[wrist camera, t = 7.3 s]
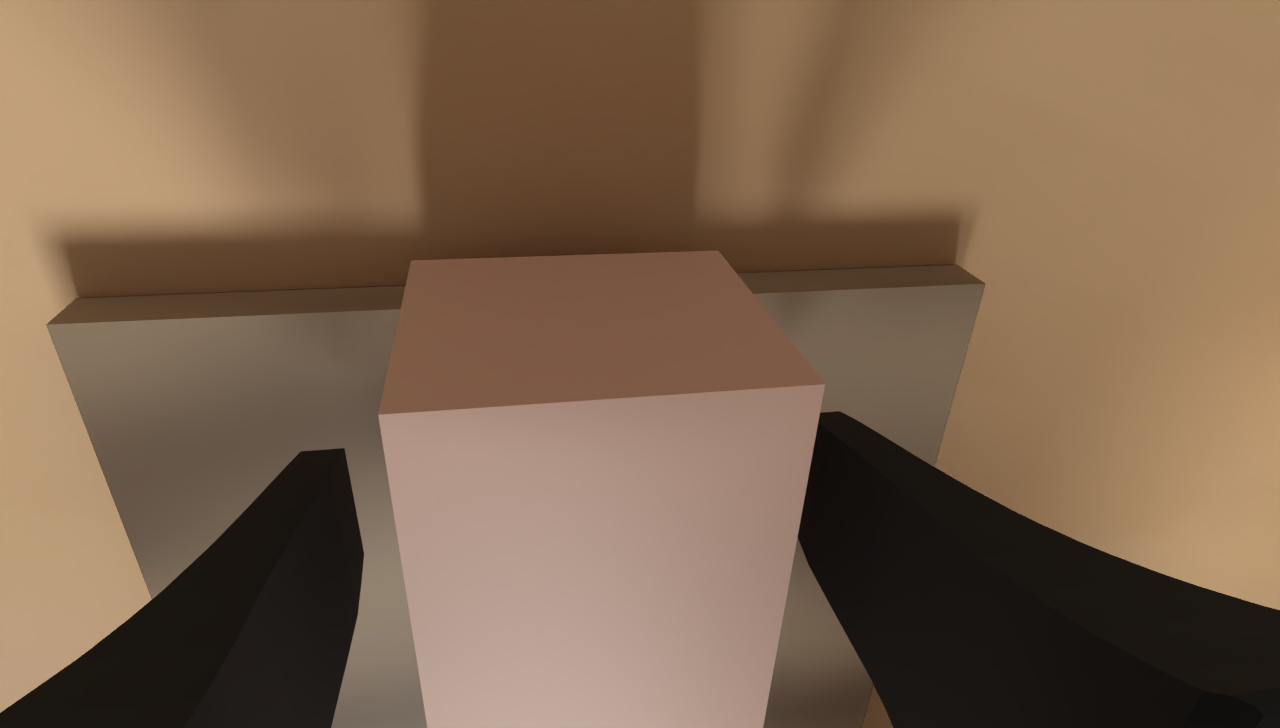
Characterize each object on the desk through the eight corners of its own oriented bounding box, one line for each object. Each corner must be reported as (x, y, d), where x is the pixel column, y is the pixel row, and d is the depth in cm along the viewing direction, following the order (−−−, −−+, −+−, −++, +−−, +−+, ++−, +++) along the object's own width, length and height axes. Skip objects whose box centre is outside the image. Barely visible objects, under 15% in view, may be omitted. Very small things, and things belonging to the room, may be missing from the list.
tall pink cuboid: (689, 560, 16) (757, 756, 12) (449, 587, 15) (440, 808, 11) (718, 250, 13) (824, 384, 9) (410, 260, 12) (378, 414, 8)
